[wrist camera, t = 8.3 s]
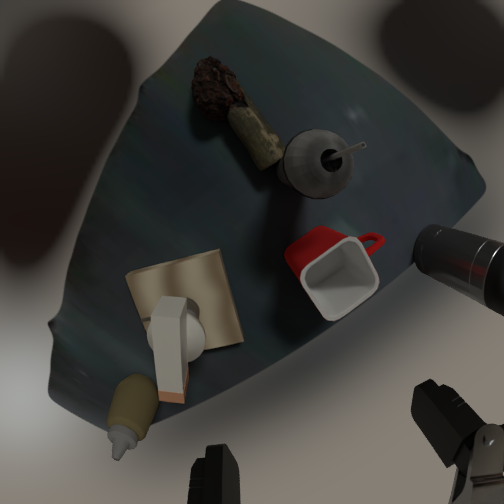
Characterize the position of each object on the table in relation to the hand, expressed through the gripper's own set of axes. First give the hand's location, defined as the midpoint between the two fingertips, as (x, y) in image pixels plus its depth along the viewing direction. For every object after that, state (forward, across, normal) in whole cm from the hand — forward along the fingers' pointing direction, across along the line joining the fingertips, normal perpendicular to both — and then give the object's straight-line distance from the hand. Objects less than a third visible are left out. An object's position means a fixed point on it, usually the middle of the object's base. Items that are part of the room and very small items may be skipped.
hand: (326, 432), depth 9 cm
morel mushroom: (+32, -1, -20) cm, 38 cm away
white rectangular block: (+22, +12, +5) cm, 26 cm away
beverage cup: (+32, -7, -11) cm, 34 cm away
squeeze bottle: (+32, +27, +18) cm, 45 cm away
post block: (+31, +12, +4) cm, 34 cm away
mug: (+32, -10, +2) cm, 34 cm away
